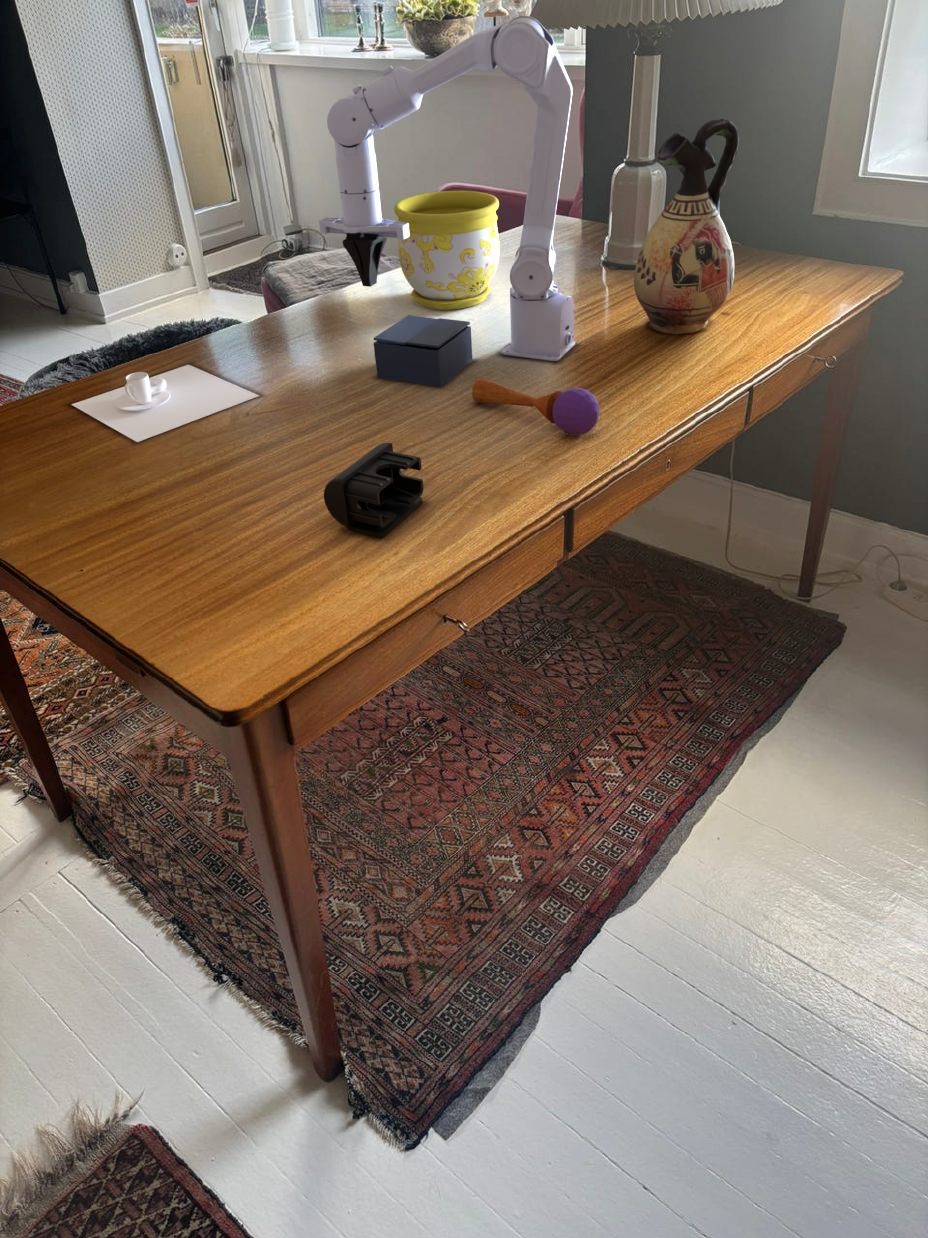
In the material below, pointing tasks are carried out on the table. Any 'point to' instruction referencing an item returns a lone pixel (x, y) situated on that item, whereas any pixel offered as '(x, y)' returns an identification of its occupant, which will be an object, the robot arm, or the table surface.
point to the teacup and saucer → (163, 401)
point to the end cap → (375, 492)
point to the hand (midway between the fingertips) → (369, 284)
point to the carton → (427, 354)
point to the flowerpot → (449, 247)
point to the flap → (404, 329)
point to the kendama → (546, 405)
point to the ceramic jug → (689, 238)
